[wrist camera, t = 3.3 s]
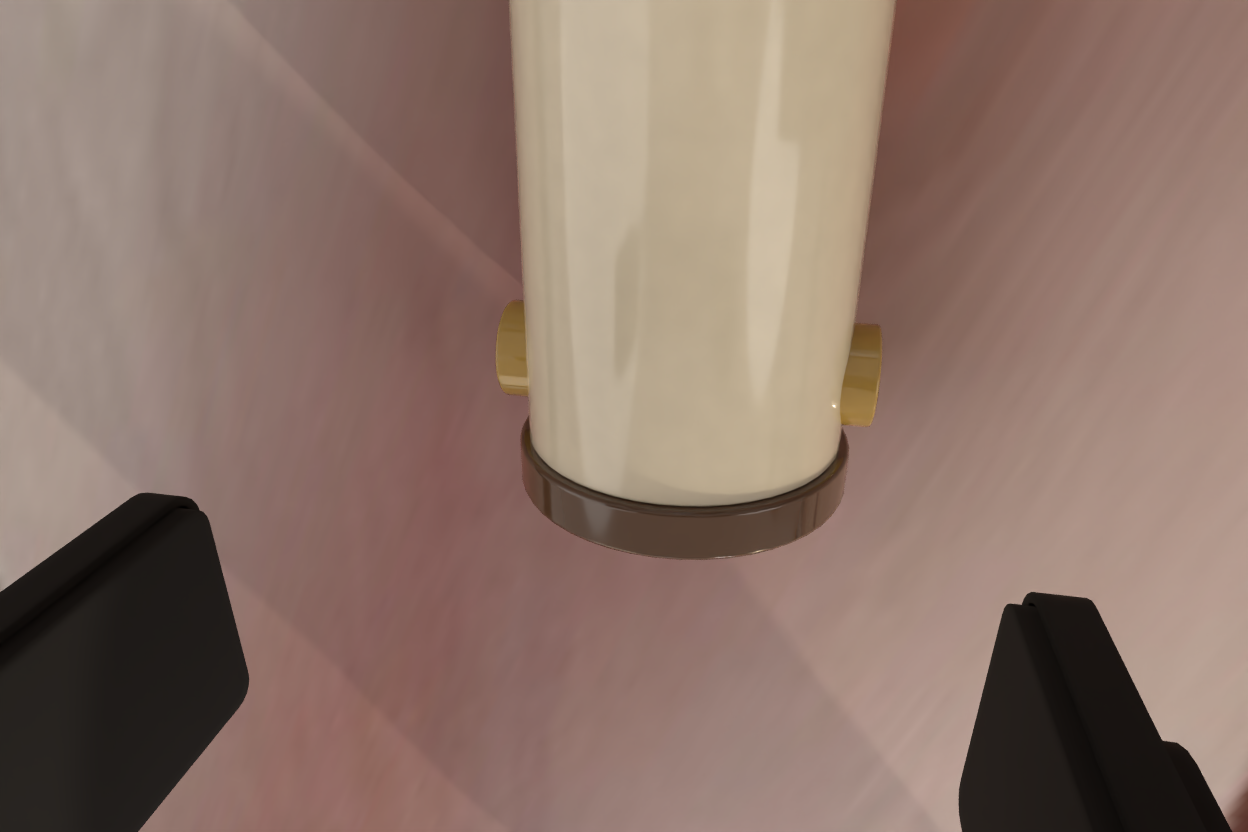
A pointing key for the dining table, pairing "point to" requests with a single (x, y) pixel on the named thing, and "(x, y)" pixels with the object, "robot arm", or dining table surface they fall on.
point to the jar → (693, 264)
